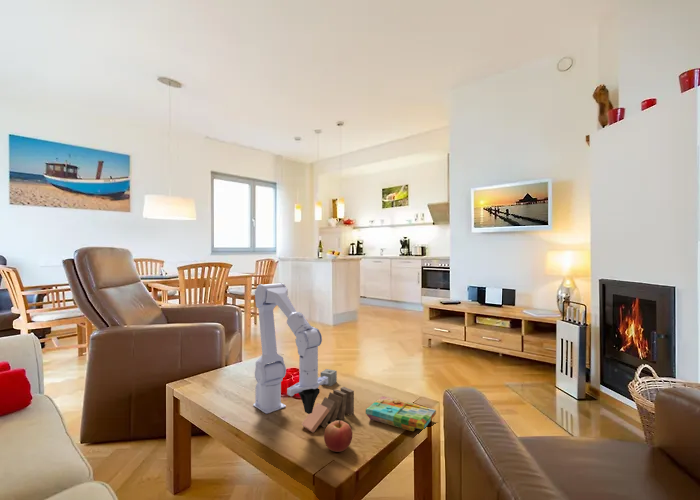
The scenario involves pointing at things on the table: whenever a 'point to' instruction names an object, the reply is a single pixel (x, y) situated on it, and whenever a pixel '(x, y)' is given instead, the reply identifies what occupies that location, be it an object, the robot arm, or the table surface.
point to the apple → (338, 436)
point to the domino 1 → (315, 417)
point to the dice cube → (330, 376)
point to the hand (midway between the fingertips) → (308, 412)
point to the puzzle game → (400, 413)
